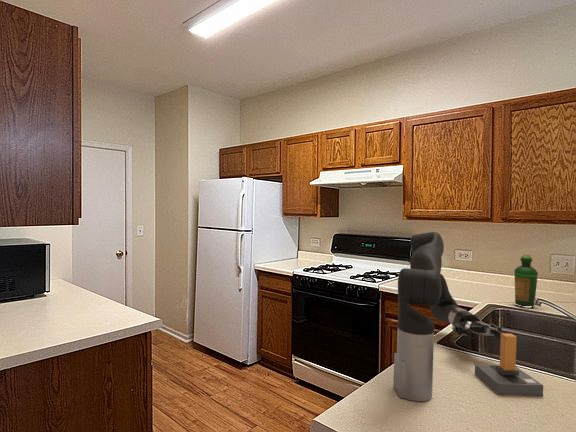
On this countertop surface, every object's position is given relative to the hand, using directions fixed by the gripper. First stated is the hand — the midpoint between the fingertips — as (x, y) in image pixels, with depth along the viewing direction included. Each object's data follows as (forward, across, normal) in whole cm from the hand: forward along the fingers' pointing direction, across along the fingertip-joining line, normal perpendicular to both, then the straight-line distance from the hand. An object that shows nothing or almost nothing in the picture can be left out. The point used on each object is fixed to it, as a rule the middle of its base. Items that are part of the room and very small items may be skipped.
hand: (488, 336), depth 114 cm
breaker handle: (+10, 0, +7) cm, 12 cm away
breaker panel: (+10, 0, +10) cm, 14 cm away
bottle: (-81, +64, +11) cm, 104 cm away
